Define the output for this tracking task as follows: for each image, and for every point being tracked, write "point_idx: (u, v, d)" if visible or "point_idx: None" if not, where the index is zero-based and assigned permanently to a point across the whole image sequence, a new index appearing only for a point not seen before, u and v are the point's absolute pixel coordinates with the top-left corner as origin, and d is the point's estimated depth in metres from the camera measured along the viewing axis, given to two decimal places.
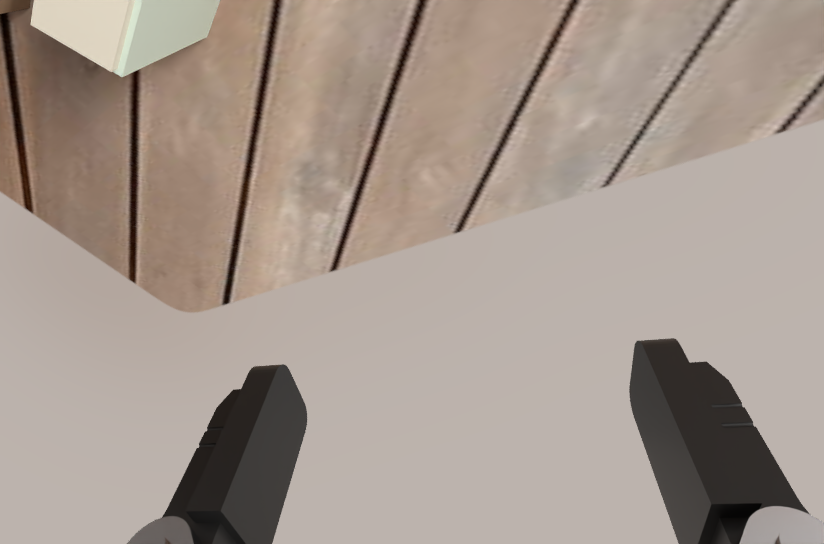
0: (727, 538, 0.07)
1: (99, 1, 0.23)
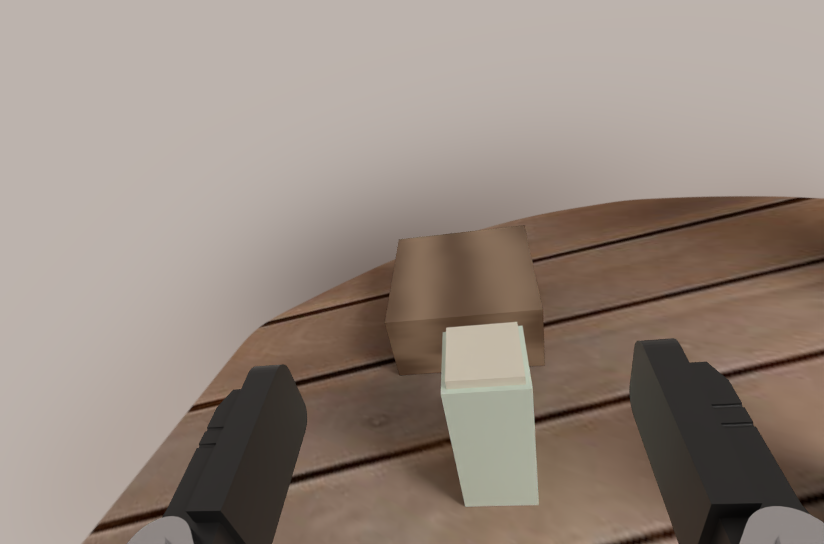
0: (727, 538, 0.07)
1: (504, 359, 0.25)
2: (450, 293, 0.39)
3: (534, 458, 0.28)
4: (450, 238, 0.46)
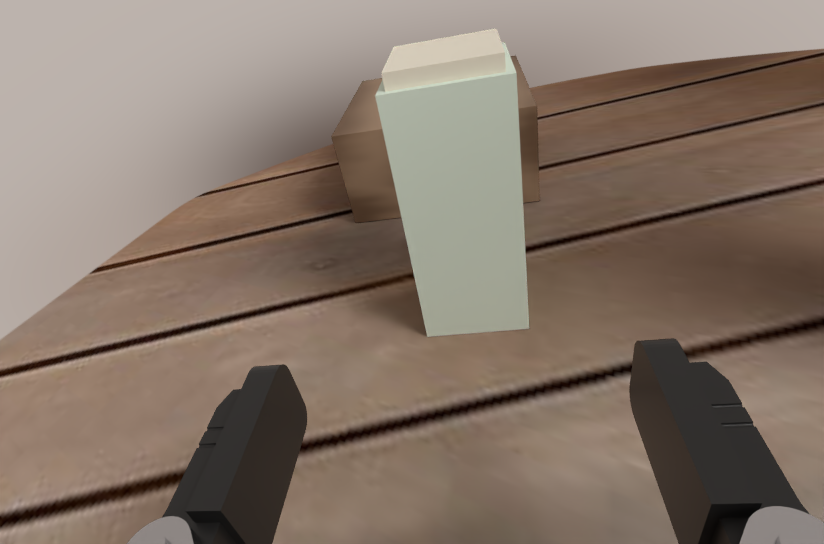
0: (727, 538, 0.07)
1: (474, 48, 0.16)
2: None
3: (521, 233, 0.19)
4: None
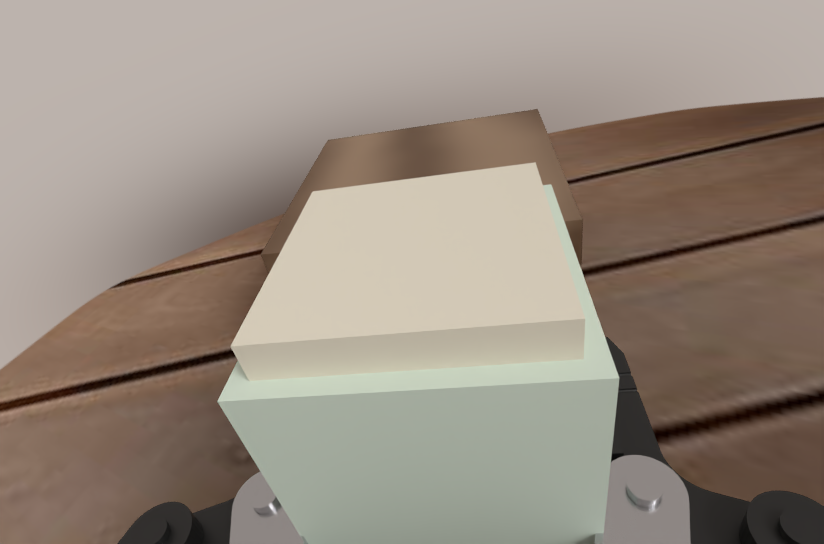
0: None
1: (488, 259, 0.06)
2: None
3: None
4: (411, 133, 0.27)
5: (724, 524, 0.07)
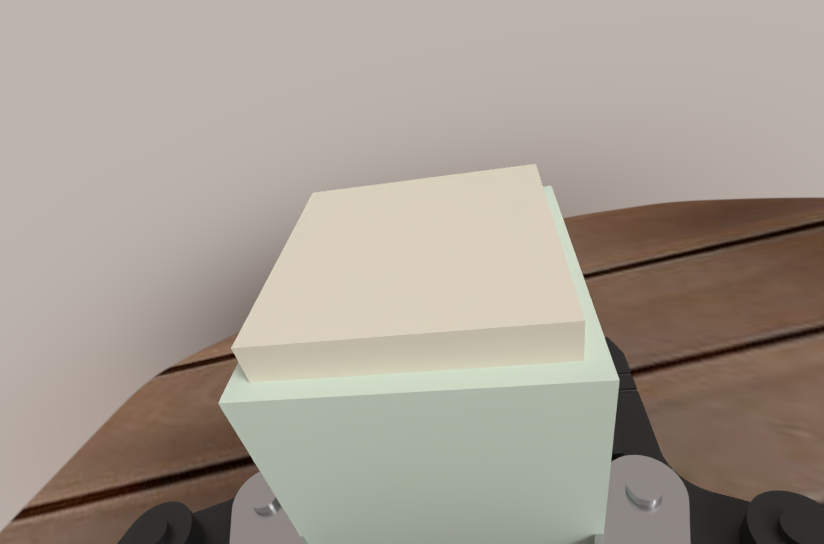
0: None
1: (488, 261, 0.06)
2: None
3: None
4: None
5: (724, 524, 0.07)
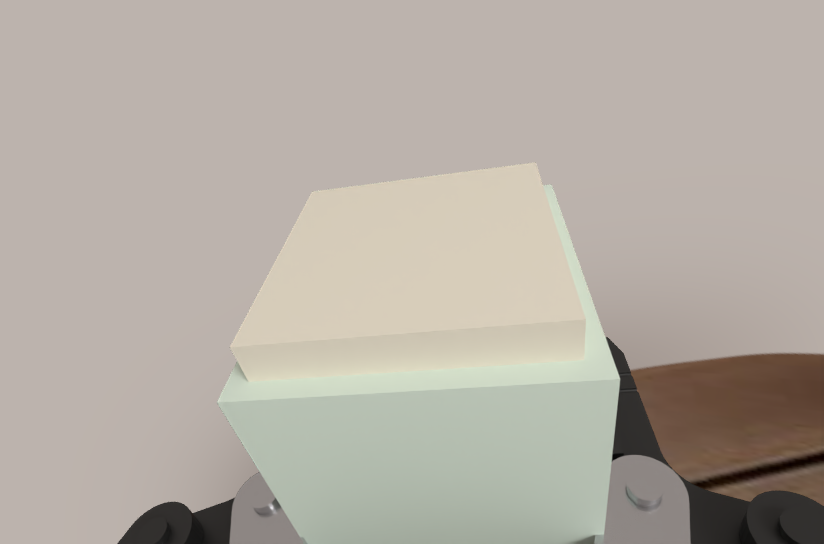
0: None
1: (489, 260, 0.06)
2: None
3: None
4: None
5: (724, 524, 0.07)
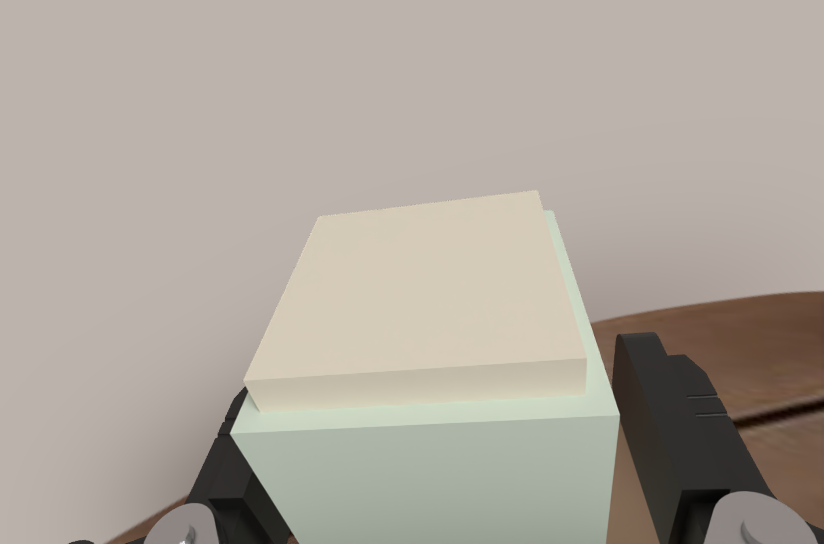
0: (697, 522, 0.07)
1: (492, 294, 0.06)
2: None
3: None
4: None
5: None
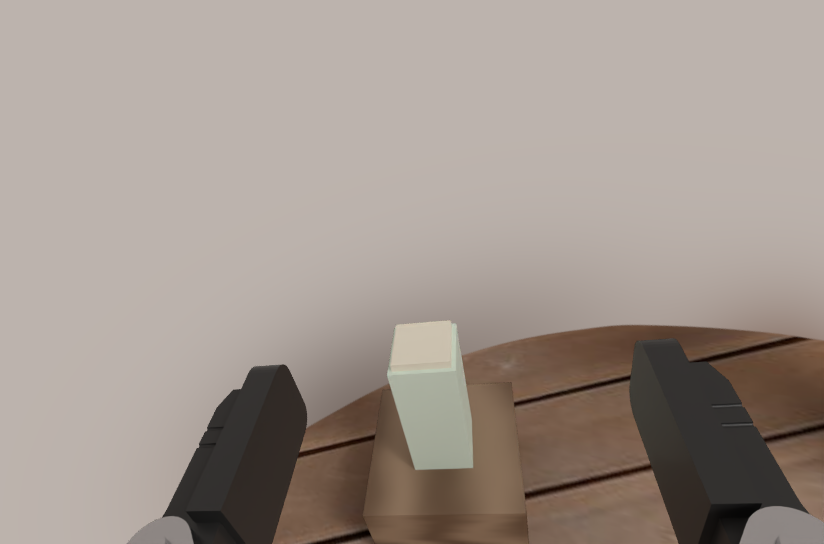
0: (727, 538, 0.07)
1: (436, 348, 0.33)
2: (432, 478, 0.38)
3: (464, 428, 0.35)
4: None
5: None
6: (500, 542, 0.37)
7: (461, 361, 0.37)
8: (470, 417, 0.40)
